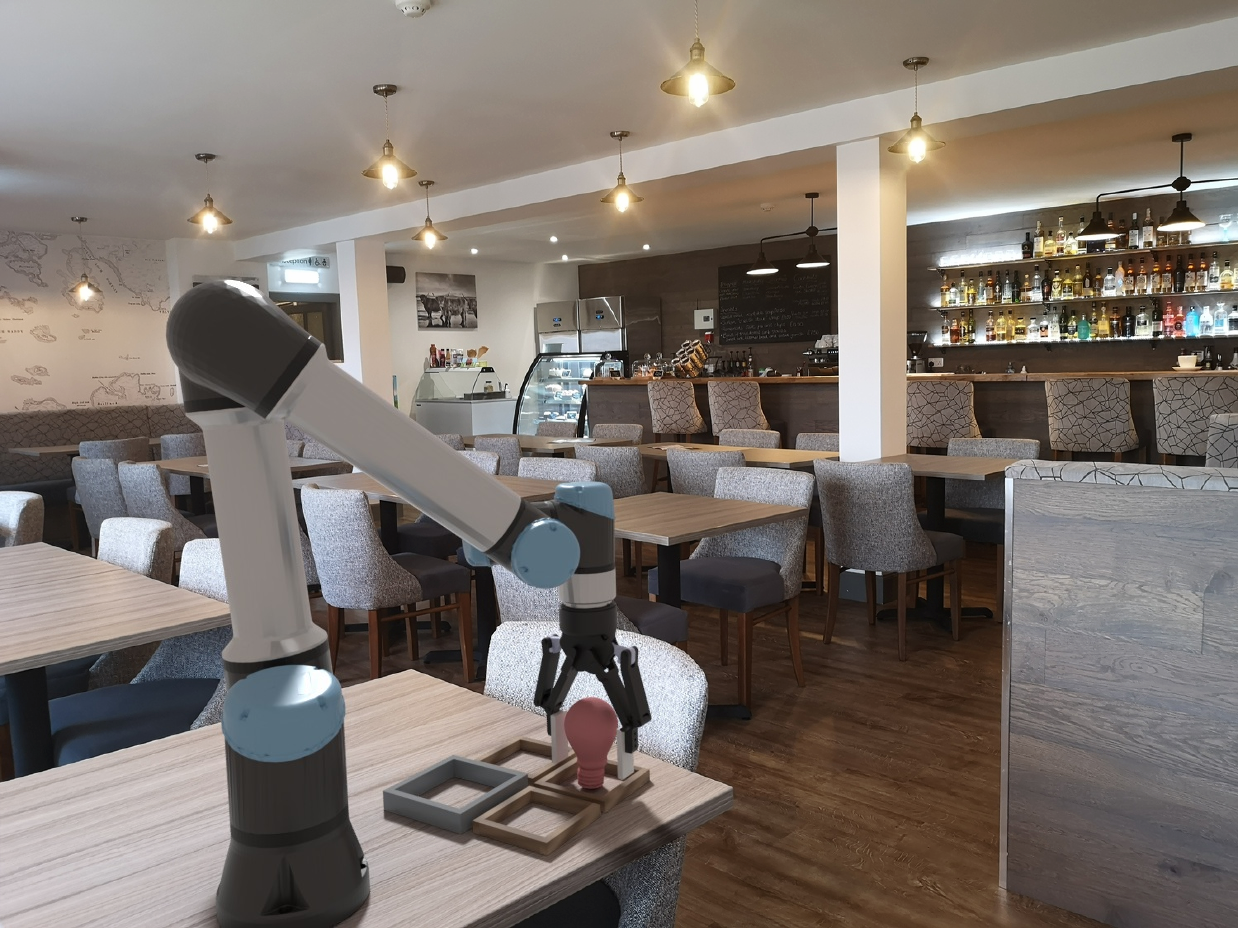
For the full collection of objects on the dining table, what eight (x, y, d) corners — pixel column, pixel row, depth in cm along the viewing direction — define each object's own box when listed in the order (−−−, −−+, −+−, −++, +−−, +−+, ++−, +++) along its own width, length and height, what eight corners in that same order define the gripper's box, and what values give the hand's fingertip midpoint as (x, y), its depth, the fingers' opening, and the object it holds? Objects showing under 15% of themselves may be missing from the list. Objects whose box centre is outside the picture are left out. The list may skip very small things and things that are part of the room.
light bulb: (622, 775, 126) (620, 689, 125) (616, 799, 119) (614, 708, 118) (570, 775, 127) (567, 689, 126) (562, 798, 119) (559, 707, 118)
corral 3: (547, 855, 105) (546, 842, 105) (473, 832, 111) (472, 820, 111) (600, 816, 114) (600, 804, 114) (529, 796, 120) (529, 785, 120)
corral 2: (533, 789, 122) (532, 778, 122) (469, 772, 128) (469, 761, 128) (580, 759, 132) (580, 749, 131) (519, 745, 137) (518, 735, 137)
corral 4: (604, 812, 115) (604, 801, 115) (534, 793, 121) (534, 782, 121) (649, 779, 124) (649, 769, 124) (582, 763, 130) (581, 753, 130)
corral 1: (461, 834, 111) (460, 813, 110) (383, 809, 117) (382, 790, 117) (528, 792, 121) (527, 773, 121) (453, 772, 128) (453, 754, 128)
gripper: (677, 603, 118) (680, 773, 120) (536, 587, 130) (541, 741, 132) (647, 617, 111) (651, 796, 113) (502, 598, 123) (508, 760, 125)
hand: (592, 767), depth 122 cm, fingers open, 10 cm apart
